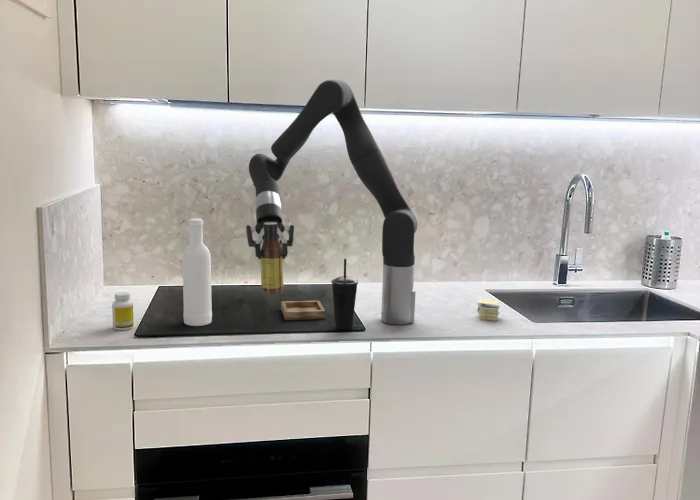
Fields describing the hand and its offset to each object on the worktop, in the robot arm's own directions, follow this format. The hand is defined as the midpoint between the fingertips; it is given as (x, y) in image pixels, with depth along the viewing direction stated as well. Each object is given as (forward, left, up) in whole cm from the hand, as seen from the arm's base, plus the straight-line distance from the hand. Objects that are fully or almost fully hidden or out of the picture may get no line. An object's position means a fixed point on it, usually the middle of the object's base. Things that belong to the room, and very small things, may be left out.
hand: (271, 257), depth 175 cm
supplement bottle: (+41, -3, -20) cm, 46 cm away
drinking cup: (-20, +4, -20) cm, 29 cm away
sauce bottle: (0, -2, -11) cm, 11 cm away
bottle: (+21, -6, -20) cm, 30 cm away
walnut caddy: (-10, -11, -20) cm, 25 cm away
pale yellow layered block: (-66, -1, -21) cm, 69 cm away
